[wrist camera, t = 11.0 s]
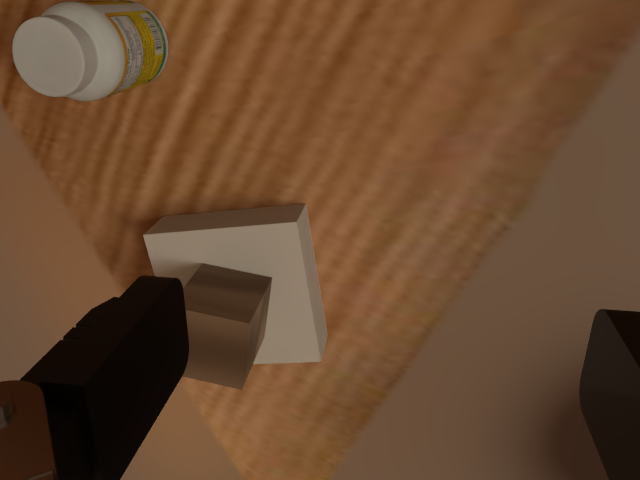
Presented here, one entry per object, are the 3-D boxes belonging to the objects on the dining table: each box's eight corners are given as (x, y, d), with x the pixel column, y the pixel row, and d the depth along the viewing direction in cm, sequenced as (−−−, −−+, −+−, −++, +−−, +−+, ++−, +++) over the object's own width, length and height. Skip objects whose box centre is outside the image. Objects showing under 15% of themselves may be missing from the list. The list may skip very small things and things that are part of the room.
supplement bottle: (183, 29, 37) (113, 41, 28) (151, 99, 39) (77, 130, 31) (111, -18, 37) (16, -21, 28) (82, 56, 39) (-14, 75, 30)
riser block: (165, 214, 43) (142, 234, 40) (307, 201, 41) (296, 221, 37) (198, 337, 47) (180, 366, 44) (328, 332, 45) (320, 361, 42)
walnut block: (202, 262, 40) (169, 306, 34) (272, 277, 39) (249, 323, 34) (198, 322, 42) (166, 372, 36) (264, 337, 42) (241, 389, 36)
